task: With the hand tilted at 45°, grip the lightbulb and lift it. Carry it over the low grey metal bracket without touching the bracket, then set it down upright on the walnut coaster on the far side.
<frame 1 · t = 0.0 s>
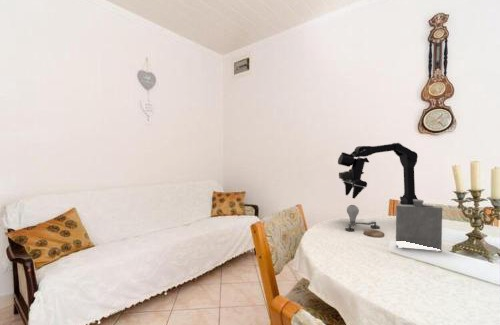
hand: (349, 196, 134), 15 cm above the table, tool pointing down, fingers open, 9 cm apart
grey metal bracket: (362, 229, 127), on the table
walnut coaster: (373, 234, 120), on the table
lightbulb: (352, 225, 135), on the table
hip flask: (417, 248, 102), on the table
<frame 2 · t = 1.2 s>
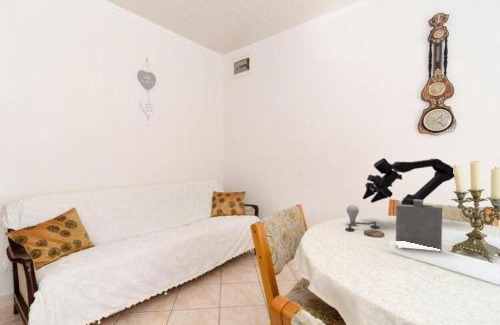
hand: (367, 200, 134), 13 cm above the table, tool tilted 45°, fingers open, 9 cm apart
nothing on the table moved.
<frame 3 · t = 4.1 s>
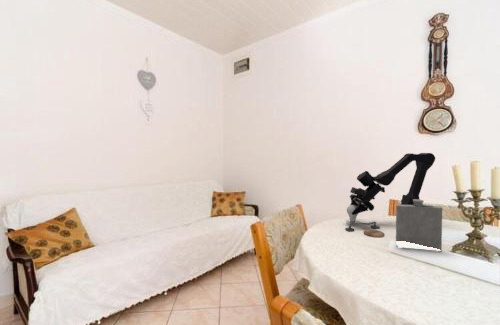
hand: (350, 212, 135), 7 cm above the table, tool tilted 45°, fingers closed on lightbulb, 6 cm apart
lightbulb: (352, 225, 135), on the table, touching gripper
everything else where it was.
when the fingers open (8 cm above the table, at t = 10.7 s): lightbulb stays where it is, resting on walnut coaster.
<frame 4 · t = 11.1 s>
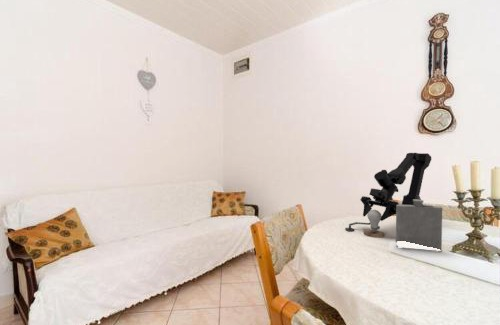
hand: (372, 218, 119), 8 cm above the table, tool tilted 45°, fingers open, 9 cm apart
lightbulb: (374, 232, 120), point 1 cm above the table, touching walnut coaster
everything else where it was.
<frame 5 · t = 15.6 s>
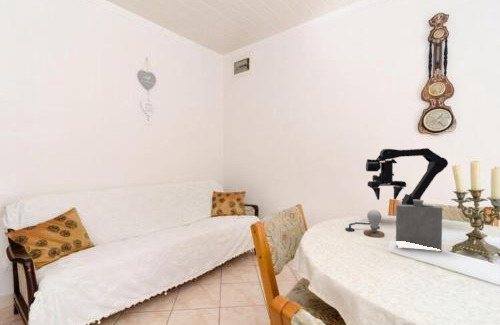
hand: (386, 199, 137), 13 cm above the table, tool pointing down, fingers open, 9 cm apart
nothing on the table moved.
at the end: lightbulb 0.3 cm from the walnut coaster (horizontally); lightbulb tilted 1°; grey metal bracket moved 0.1 cm from its start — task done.
